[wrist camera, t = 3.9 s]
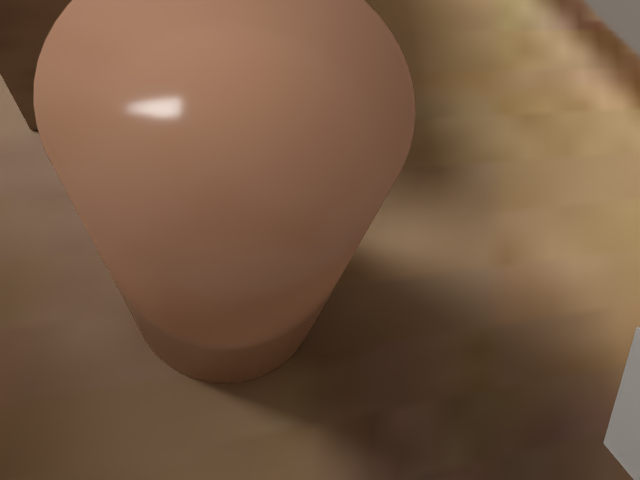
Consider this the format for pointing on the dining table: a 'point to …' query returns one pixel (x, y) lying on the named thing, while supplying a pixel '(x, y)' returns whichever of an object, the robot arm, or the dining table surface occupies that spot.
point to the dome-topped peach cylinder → (224, 161)
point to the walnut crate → (25, 46)
